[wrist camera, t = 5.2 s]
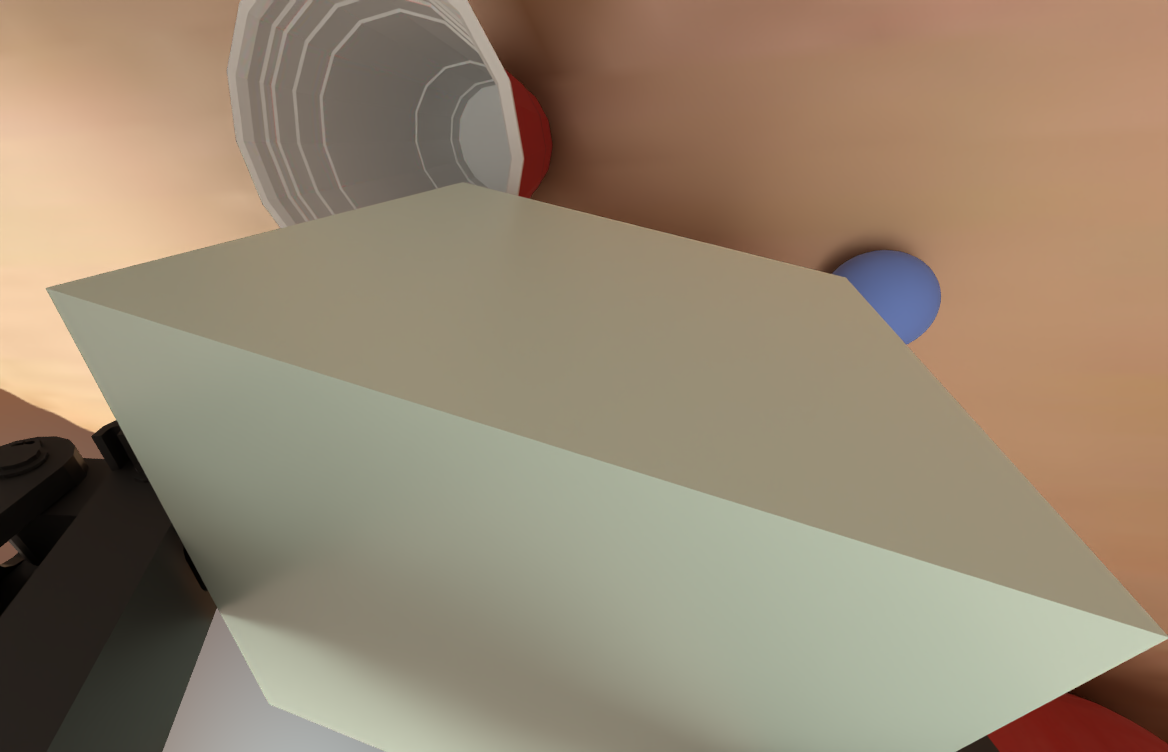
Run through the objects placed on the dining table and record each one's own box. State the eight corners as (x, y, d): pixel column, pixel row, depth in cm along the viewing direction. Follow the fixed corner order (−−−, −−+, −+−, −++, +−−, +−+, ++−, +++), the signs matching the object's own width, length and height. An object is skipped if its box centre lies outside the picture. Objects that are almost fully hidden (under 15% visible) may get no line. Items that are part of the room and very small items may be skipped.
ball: (834, 230, 22) (863, 256, 18) (935, 250, 22) (990, 280, 18) (795, 316, 25) (813, 356, 21) (884, 336, 25) (921, 381, 20)
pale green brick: (462, 182, 12) (45, 288, 4) (845, 277, 11) (1169, 638, 3) (455, 453, 17) (268, 704, 10) (706, 534, 16) (709, 883, 9)
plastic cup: (605, 11, 20) (508, -95, 10) (594, 244, 26) (524, 323, 16) (399, 12, 22) (148, -77, 12) (431, 228, 28) (277, 289, 18)
